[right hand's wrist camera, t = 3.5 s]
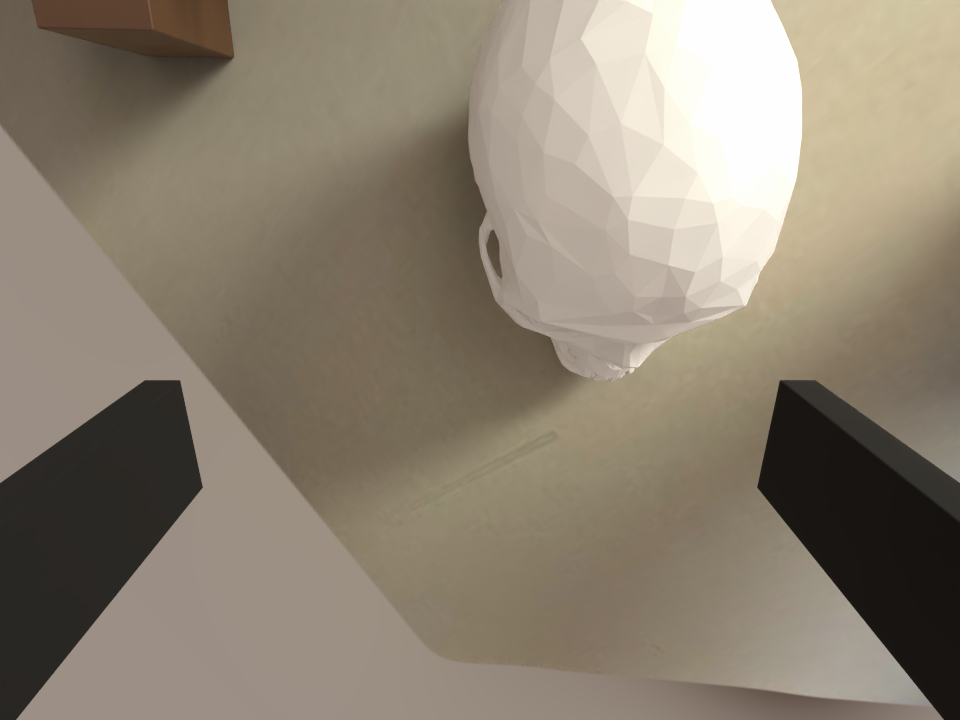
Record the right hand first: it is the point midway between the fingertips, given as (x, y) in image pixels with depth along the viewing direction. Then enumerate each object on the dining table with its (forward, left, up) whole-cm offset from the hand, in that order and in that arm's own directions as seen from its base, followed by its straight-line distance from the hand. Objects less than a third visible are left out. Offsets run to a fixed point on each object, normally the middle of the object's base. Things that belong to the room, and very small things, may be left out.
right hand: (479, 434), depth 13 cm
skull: (-3, +6, -24) cm, 25 cm away
